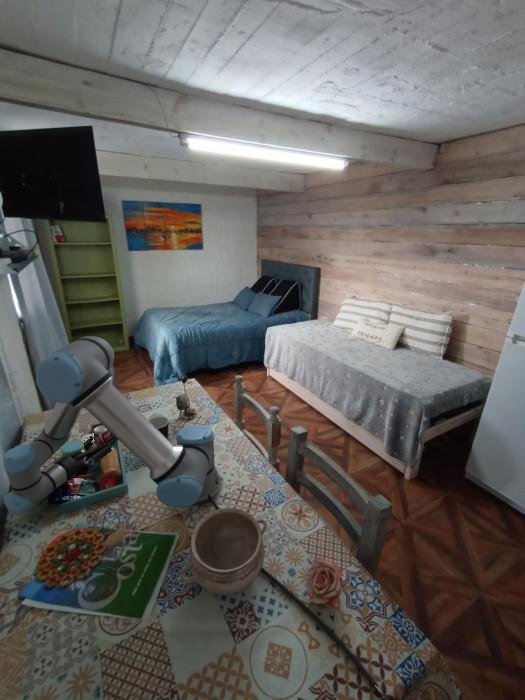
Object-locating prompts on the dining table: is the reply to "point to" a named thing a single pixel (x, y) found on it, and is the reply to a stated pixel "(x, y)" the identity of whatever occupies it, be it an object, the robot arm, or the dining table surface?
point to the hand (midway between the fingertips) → (113, 433)
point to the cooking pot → (226, 551)
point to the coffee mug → (161, 424)
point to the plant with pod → (184, 404)
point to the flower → (324, 582)
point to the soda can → (101, 435)
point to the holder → (97, 426)
